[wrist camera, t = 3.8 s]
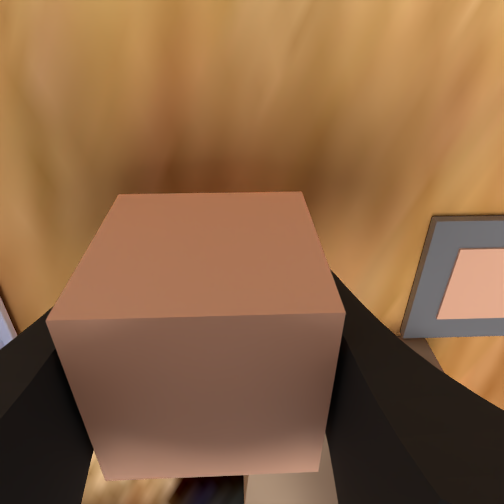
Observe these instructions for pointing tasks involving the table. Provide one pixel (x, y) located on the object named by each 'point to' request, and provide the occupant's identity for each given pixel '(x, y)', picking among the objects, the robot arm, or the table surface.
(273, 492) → the walnut base
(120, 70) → the table surface
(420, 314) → the card
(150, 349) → the terracotta cube
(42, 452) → the robot arm
